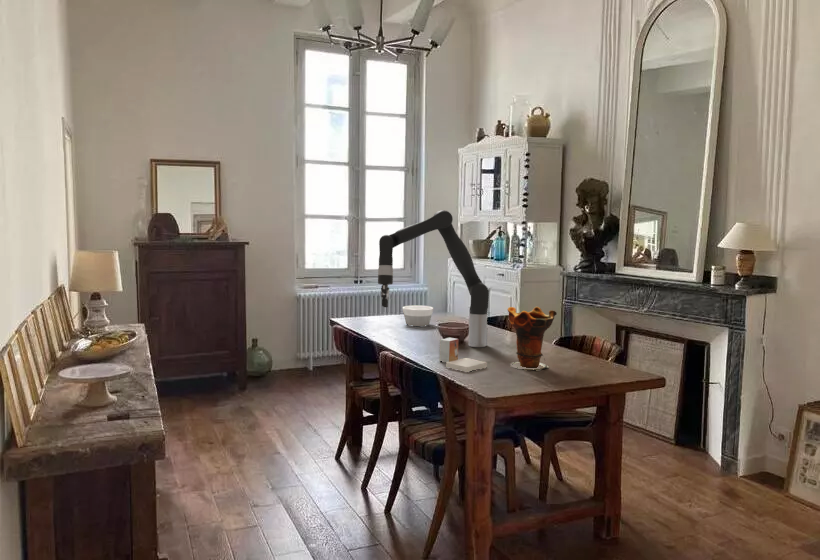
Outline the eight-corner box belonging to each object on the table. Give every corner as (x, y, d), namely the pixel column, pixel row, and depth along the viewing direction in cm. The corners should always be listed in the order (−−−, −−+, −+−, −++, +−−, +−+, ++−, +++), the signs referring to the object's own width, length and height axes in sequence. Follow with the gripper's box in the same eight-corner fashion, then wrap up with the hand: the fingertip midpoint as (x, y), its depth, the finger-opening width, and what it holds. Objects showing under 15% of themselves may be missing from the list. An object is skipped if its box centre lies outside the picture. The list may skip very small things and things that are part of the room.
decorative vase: (563, 365, 301) (564, 305, 297) (532, 375, 286) (532, 312, 282) (527, 357, 317) (528, 300, 313) (496, 367, 302) (496, 307, 298)
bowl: (400, 322, 412) (400, 305, 411) (430, 322, 415) (431, 305, 413) (403, 327, 393) (403, 309, 392) (435, 327, 396) (435, 310, 394)
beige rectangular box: (465, 363, 304) (466, 357, 304) (486, 367, 296) (486, 362, 296) (446, 367, 294) (446, 362, 294) (466, 372, 286) (467, 367, 286)
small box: (448, 363, 303) (449, 341, 302) (438, 361, 306) (439, 339, 305) (458, 360, 309) (459, 338, 308) (448, 358, 313) (449, 337, 312)
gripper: (391, 273, 324) (391, 306, 323) (393, 276, 338) (393, 307, 337) (376, 273, 325) (375, 306, 323) (379, 276, 339) (378, 307, 337)
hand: (384, 306), depth 330 cm, fingers open, 8 cm apart
